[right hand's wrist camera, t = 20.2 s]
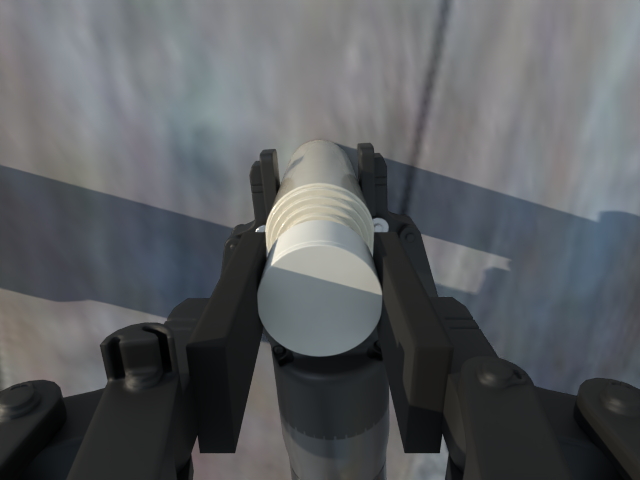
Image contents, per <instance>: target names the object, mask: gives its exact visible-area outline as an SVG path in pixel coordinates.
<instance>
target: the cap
mask: <svg viewBox="0 0 640 480" xmlns="http://www.w3.org/2000/svg"><path fill="white" fill-rule="evenodd" d="M257 298H258V313H259V317H260V319H261V322H262V324H263V325H264V327H265V329H266V330H267V332H268V333H269V334H270V335H271V336H272V337H273V338H274V339H275V340H276V341H277V342H278V343H280V344H281V345H282V346H284V347H286V348H288V349H290V350H292V351H294V352H297V353H300V354H304V355H309V356H331V355H336V354H340V353H343V352H346V351H348V350H350V349H352V348H354V347H356V346H357V345H359V344H360V343H362V342H363V341H364V340H365V339H366V338H367V337H368V336H369V335H370V334H371V333H372V332H373V330H374V329H375V327H376V326H377V324H378V321H379V319H380V316H381V311H382V287H381V284H380V281H379V277H378V274H377V271H376V267H375V264H374V260H373V257H372V254H371V252H370V249H369V247H368V246H367V244H366V242H365V241H364V240H363V239H362V238H361V236H359V235H358V234H357V233H356V232H355V231H353V230H352V229H350V228H349V227H347V226H345V225H343V224H340V223H337V222H333V221H328V220H312V221H306V222H303V223H300V224H297V225H295V226H293V227H291V228H290V229H288V230H286V231H285V232H284V233H283V234H281V235H280V237H279V238H278V239H277V240H276V241H275V242H274V244H273V245H272V247H271V249H270V251H269V254H268V257H267V260H266V263H265V267H264V270H263V273H262V277H261V280H260V283H259V287H258V291H257Z"/></svg>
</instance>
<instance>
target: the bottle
mask: <svg viewBox="0 0 640 480" xmlns="http://www.w3.org/2000/svg"><path fill="white" fill-rule="evenodd" d="M312 220H328V221H333V222H337V223H340V224H343V225H345V226H347V227H349V228H350V229H352V230H353V231H355V232H356V233H357V234H358V235H359V236H361V238H362V239H363V240H364V241H365V242H366V244H367V246H368V247H369V249H370V252H371V253H372V250H373V242H374V232H375V228H374V223H373V220H372V217H371V214H370V211H369V209H368V206H367V203H366V201H365V198H364V196H363V193H362V190H361V188H360V185H359V182H358V180H357V177H356V175H355V172H354V169H353V167H352V164H351V161H350V159H349V157H348V155H347V154H346V152H345V151H344V150H343V149H342V148H341V147H339V146H338V145H336V144H334V143H332V142H329V141H325V140H315V141H311V142H308V143H306V144H304V145H302V146H301V147H299V148H298V149H297V150H296V151H295V152H294V154H293V155H292V157H291V159H290V161H289V164H288V166H287V169H286V172H285V174H284V177H283V180H282V182H281V185H280V187H279V190H278V193H277V195H276V198H275V201H274V203H273V206H272V208H271V211H270V214H269V216H268V219H267V223H266V228H265V232H266V246H267V250H268V253H269V251H270V249H271V247H272V245H273V244H274V242H275V241H276V240H277V239H278V238H279V237H280V235H281V234H283V233H284V232H285V231H286V230H288V229H290V228H291V227H293V226H295V225H297V224H300V223H303V222H306V221H312Z"/></svg>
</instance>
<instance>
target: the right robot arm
mask: <svg viewBox="0 0 640 480" xmlns="http://www.w3.org/2000/svg"><path fill="white" fill-rule="evenodd" d="M266 260H267V247H266V232H243V234H242V236H241V238H240V240H239V242H238V244H237V246H236V248H235V250H234V252H233V254H232V256H231V258H230V260H229V262H228V264H227V266H226V268H225V270H224V272H223V274H222V276H221V278H220V280H219V282H218V284H217V286H216V288H215V290H214V292H213V294H212V296H211V298H188V299H186V300H185V301H183V302H182V303H181V304H179V305H178V306H176V307H175V308H174V309H173V311H172V312H171V314H170V315H169V317H168V318H167V321H166V322H165V323H164V324H160V323H140V324H135V325H130V326H127V327H125V328H122V329H120V330H117V331H116V332H114V333H112V334H111V335H109V336H108V337H106V339H105V340H104V341H103V342H102V343H101V344H100V348H101V352H102V357H103V361H104V366H105V370H106V375H107V379H108V382H107V385H106V387H105V388H103V389H100V390H96V391H92V392H88V393H83V394H78V395H74V396H69V397H64V398H63V396H62V392H61V389H60V387H59V386H58V385H57V384H56V383H55V382H52V381H47V380H35V381H27V382H23V383H19V384H16V385H13V386H11V387H9V388H7V389H5V390H3V391H1V392H0V480H193V473H194V470H193V462H192V456H191V452H192V449H193V446H194V444H195V441H196V438H197V435H198V442H199V449H200V453H235V451H236V446H237V442H238V438H239V433H240V429H241V424H242V420H243V416H244V411H245V407H246V403H247V398H248V394H249V389H250V385H251V381H252V376H253V372H254V367H255V363H256V359H257V354H258V350H259V345H260V341H261V337H262V332H263V328H264V325H263V324H262V322H261V319H260V317H259V313H258V298H257V291H258V287H259V283H260V280H261V277H262V273H263V270H264V267H265V263H266ZM373 260H374V264H375V267H376V271H377V274H378V277H379V281H380V284H381V287H382V311H381V316H380V319H379V321H378V324H377V326H376V329H377V333H378V338H379V342H380V347H381V351H382V355H383V360H384V364H385V369H386V373H387V377H388V382H389V386H390V391H391V395H392V399H393V404H394V408H395V413H396V417H397V421H398V426H399V430H400V434H401V439H402V443H403V448H404V452H405V453H440V447H441V440H442V434H443V436H444V439H445V442H446V445H447V448H448V451H449V456H448V462H447V469H446V476H445V480H640V389H638V388H635V387H633V386H631V385H629V384H627V383H624V382H620V381H617V380H613V379H604V378H594V379H589V380H586V381H585V382H583V383H582V384H581V385H580V388H579V391H578V395H577V396H575V395H570V394H565V393H561V392H556V391H551V390H547V389H543V388H540V387H536V386H534V384H533V382H532V380H531V379H530V377H529V376H528V374H527V373H526V372H525V371H524V370H522V369H521V368H520V367H518V366H517V365H515V364H513V363H511V362H509V361H506V360H504V359H501V358H499V357H498V356H497V354H496V353H495V351H494V350H493V348H492V347H491V345H490V343H489V342H488V340H487V339H486V337H485V336H484V334H483V333H482V331H481V330H480V329H479V326H478V325H477V323H476V322H475V320H473V317H472V316H471V314H470V312H469V311H468V309H467V308H466V306H464V305H463V304H461V303H460V302H458V301H457V300H456V299H454V298H453V297H429V296H428V294H427V292H426V290H425V288H424V286H423V284H422V282H421V280H420V278H419V276H418V274H417V272H416V270H415V268H414V266H413V264H412V262H411V260H410V258H409V256H408V254H407V252H406V251H405V249H404V247H403V245H402V243H401V241H400V239H399V237H398V235H397V233H396V232H374V242H373Z"/></svg>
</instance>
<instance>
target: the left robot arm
mask: <svg viewBox="0 0 640 480" xmlns="http://www.w3.org/2000/svg"><path fill="white" fill-rule="evenodd" d="M358 178H359V185H360V188H361V190H362V193H363V196H364V198H365V201H366V203H367V206H368V209H369V211H370V214H371V217H372V220H373V223H374V228H375V232H396V233H397V235H398V237H399V239H400V241H401V243H402V245H403V247H404V249H405V251H406V252H407V254H408V256H409V258H410V260H411V262H412V264H413V266H414V268H415V270H416V272H417V274H418V276H419V278H420V280H421V282H422V284H423V286H424V288H425V290H426V292H427V294H428V296H429V297H438V295H437V291H436V288H435V284H434V280H433V277H432V273H431V269H430V266H429V262H428V258H427V255H426V251H425V248H424V244H423V240H422V237H421V233H420V232H419V230H418V228H417V227H416V225H415V224H414V222H413V221H412V219H411V218H410V217H409V216H408V215H405V214H401V215H398V214H394V213H391V212H389V211H388V210H387V166H386V163H385V161H384V159H383V157H382V156H381V154H380V153H374V148H373V146H372V144H371V143H360V144H358ZM250 183H251V191H252V198H253V206H254V214H255V220H254V221H252V222H250V223H248V224H245V225H244V224H240V225H237V226H236V227H235V228H234V230H233V231H232V234H231V236H230V238H229V239H228V240H227V242H226V243H225V247H224V255H223V263H222V271H221V276H222V274H223V272H224V270H225V268H226V266H227V264H228V262H229V260H230V258H231V256H232V254H233V252H234V250H235V248H236V246H237V244H238V242H239V240H240V238H241V236H242V234H243V232H265V228H266V223H267V219H268V216H269V214H270V211H271V208H272V206H273V203H274V201H275V198H276V195H277V193H278V190H279V187H280V179H279V170H278V160H277V152H276V149H269V150H263V151H262V152H261V153H260V161H255V163H254V164H253V165H252V168H251V172H250ZM266 247H267V246H266ZM268 254H269V253H268V250H267V257H268ZM371 254H372V257H373V250H372V253H371ZM263 333H264V335H265V336H266V337H267V338H268V340H269V342H270V344H271V349H272V357H273V364H274V372H275V379H276V387H277V395H278V403H279V410H280V418H281V425H282V433H283V438H284V442H285V446H286V449H287V452H288V455H289V459H290V468H291V475H292V480H387V478H386V448H387V443H388V436H389V382H388V377H387V373H386V369H385V364H384V360H383V355H382V351H381V347H380V342H379V338H378V333H377V329H376V327H375V329H374V330H373V332H372V333H371V334H370V335H369V336H368V337H367V338H366V339H365V340H364V341H363V342H362V343H360V344H359V345H357V346H356V347H354V348H352V349H350V350H348V351H346V352H343V353H340V354H336V355H331V356H309V355H304V354H300V353H297V352H294V351H292V350H290V349H288V348H286V347H284V346H282V345H281V344H280V343H278V342H277V341H276V340H275V339H274V338H273V337H272V336H271V335H270V334H269V333H268V332H267V330H266V329H265V327H264V328H263Z"/></svg>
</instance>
